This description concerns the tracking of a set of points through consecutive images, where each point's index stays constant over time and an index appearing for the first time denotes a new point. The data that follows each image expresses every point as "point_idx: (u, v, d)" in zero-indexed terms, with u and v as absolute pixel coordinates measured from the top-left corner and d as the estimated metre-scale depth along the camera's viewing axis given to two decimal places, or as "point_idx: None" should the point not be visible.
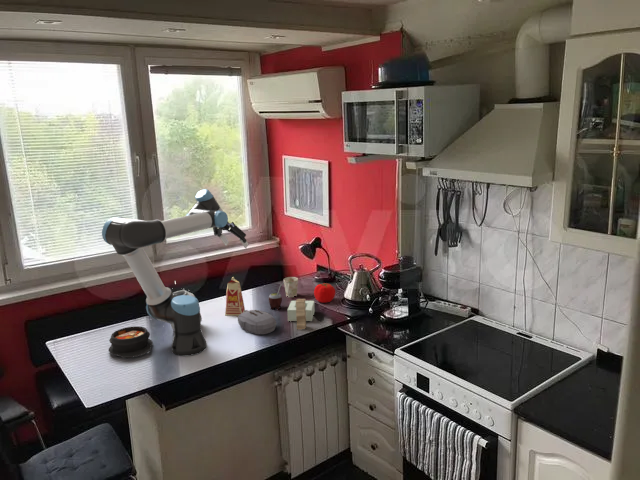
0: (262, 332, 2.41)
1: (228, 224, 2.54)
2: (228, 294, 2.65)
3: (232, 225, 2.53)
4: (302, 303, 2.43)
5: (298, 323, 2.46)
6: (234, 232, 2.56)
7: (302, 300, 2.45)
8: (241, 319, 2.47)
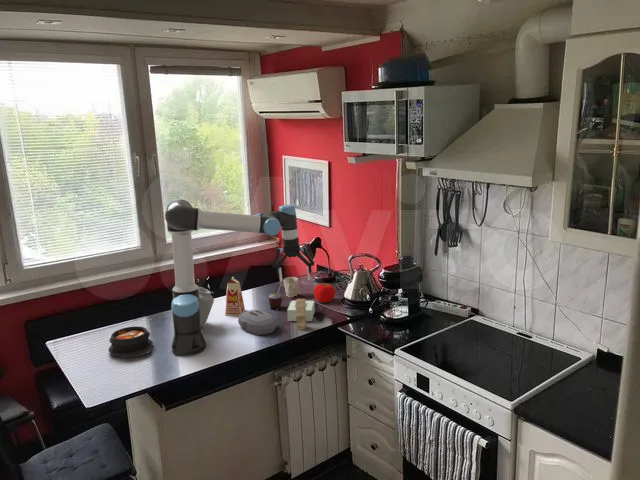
0: (262, 332, 2.40)
1: None
2: (228, 294, 2.65)
3: (305, 248, 2.43)
4: (302, 303, 2.43)
5: (298, 323, 2.46)
6: (303, 258, 2.44)
7: (302, 300, 2.45)
8: (241, 319, 2.47)
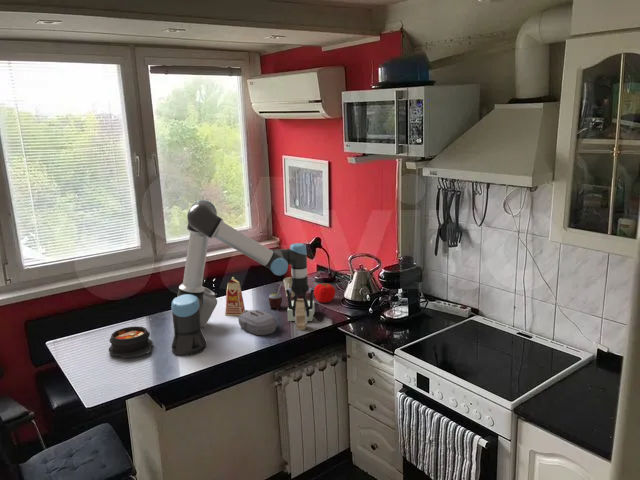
0: (263, 332, 2.40)
1: (309, 288, 2.43)
2: (228, 294, 2.65)
3: (313, 291, 2.43)
4: (302, 303, 2.43)
5: (298, 323, 2.46)
6: (306, 300, 2.44)
7: (302, 300, 2.45)
8: (242, 320, 2.46)
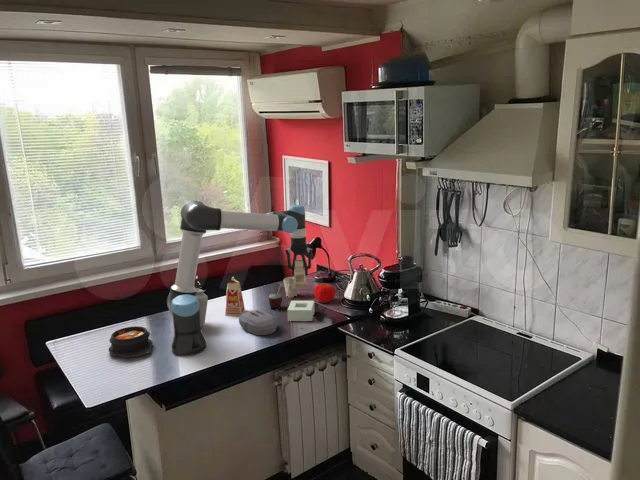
0: (263, 333, 2.40)
1: (308, 248, 2.54)
2: (228, 294, 2.65)
3: (311, 251, 2.54)
4: (301, 262, 2.55)
5: (297, 282, 2.57)
6: (305, 260, 2.55)
7: (301, 260, 2.56)
8: (242, 320, 2.46)
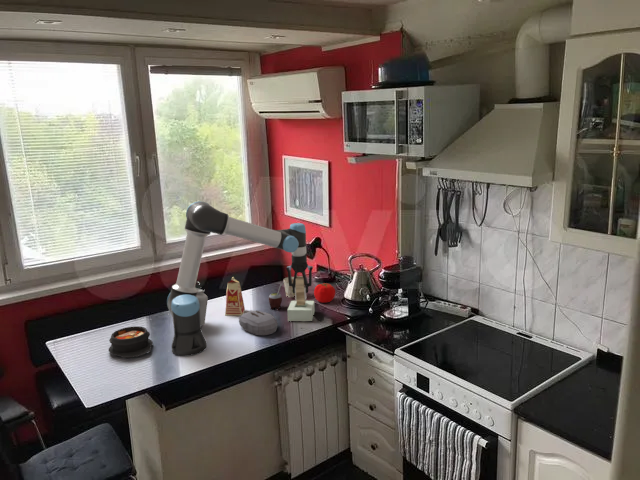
0: (263, 333, 2.39)
1: (308, 265, 2.56)
2: (228, 294, 2.65)
3: (312, 268, 2.57)
4: (301, 280, 2.57)
5: (298, 299, 2.59)
6: (305, 277, 2.58)
7: (301, 277, 2.58)
8: (242, 320, 2.46)
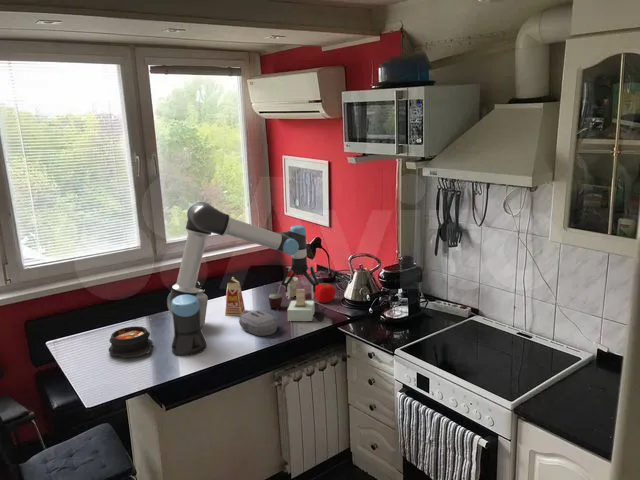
0: (263, 333, 2.39)
1: (308, 267, 2.56)
2: (228, 294, 2.65)
3: (313, 268, 2.56)
4: (302, 293, 2.58)
5: None
6: (309, 277, 2.57)
7: (302, 290, 2.60)
8: (242, 320, 2.45)
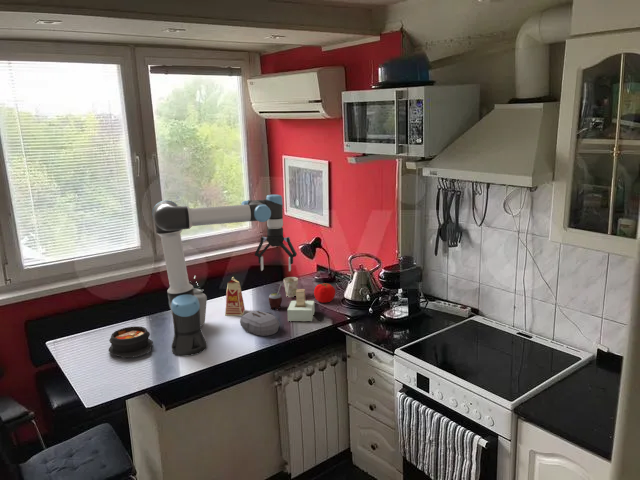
0: (266, 333, 2.39)
1: (284, 238, 2.46)
2: (228, 294, 2.65)
3: (289, 239, 2.46)
4: (302, 293, 2.58)
5: None
6: (286, 249, 2.47)
7: (302, 290, 2.60)
8: (244, 321, 2.45)
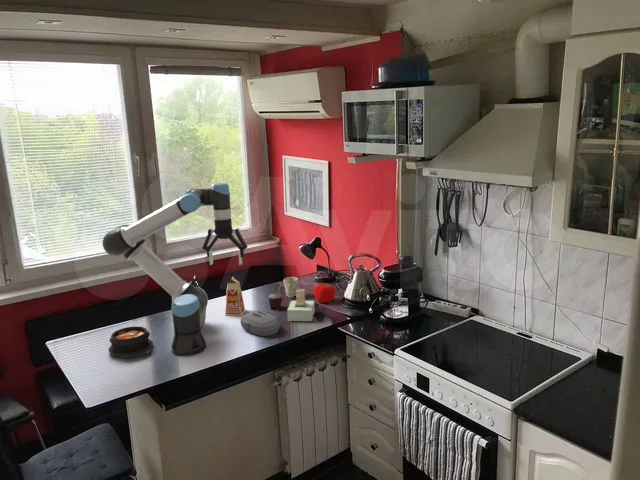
0: (266, 333, 2.39)
1: (233, 229, 2.30)
2: (228, 294, 2.65)
3: (238, 230, 2.30)
4: (302, 293, 2.58)
5: None
6: (235, 241, 2.31)
7: (302, 290, 2.60)
8: (244, 321, 2.45)
